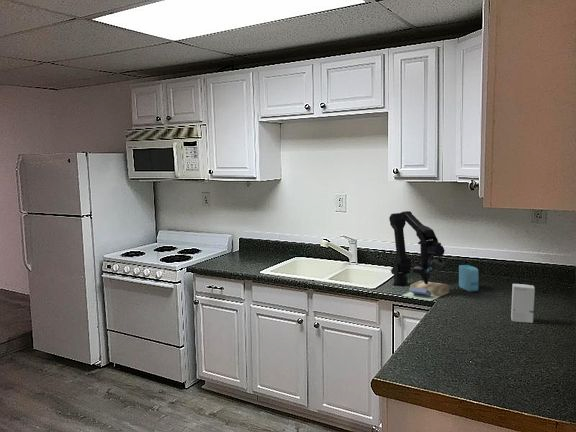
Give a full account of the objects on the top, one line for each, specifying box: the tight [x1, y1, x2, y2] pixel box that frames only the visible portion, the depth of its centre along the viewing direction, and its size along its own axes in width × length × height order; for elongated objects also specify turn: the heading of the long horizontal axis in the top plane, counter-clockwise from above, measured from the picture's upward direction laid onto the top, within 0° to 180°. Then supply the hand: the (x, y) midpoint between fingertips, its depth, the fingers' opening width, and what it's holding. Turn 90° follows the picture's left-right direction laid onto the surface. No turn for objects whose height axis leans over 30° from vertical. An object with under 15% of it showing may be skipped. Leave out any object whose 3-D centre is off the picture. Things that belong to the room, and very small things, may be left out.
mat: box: [401, 291, 440, 302], centre depth 245 cm, size 16×9×1 cm, turn 48°
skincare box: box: [510, 283, 536, 324], centre depth 203 cm, size 8×6×15 cm
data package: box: [458, 264, 479, 293], centre depth 256 cm, size 12×4×12 cm, turn 9°
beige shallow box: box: [409, 280, 450, 298], centre depth 252 cm, size 16×11×4 cm
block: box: [408, 286, 431, 297], centre depth 244 cm, size 9×6×2 cm, turn 49°
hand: (426, 284), depth 249 cm, fingers closed
